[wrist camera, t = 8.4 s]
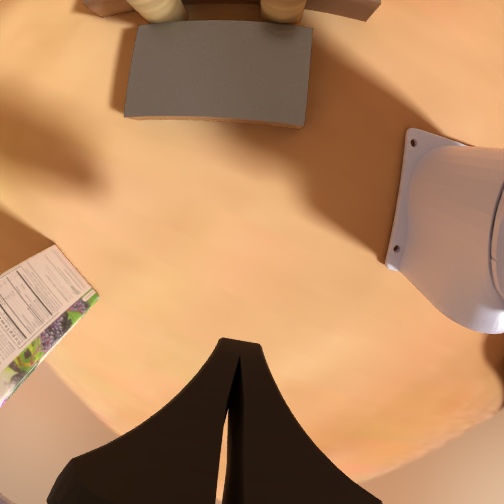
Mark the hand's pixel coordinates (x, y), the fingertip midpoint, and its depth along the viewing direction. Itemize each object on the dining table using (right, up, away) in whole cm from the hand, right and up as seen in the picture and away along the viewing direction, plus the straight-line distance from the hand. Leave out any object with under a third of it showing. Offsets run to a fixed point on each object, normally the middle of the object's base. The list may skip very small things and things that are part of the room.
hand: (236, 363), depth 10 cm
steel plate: (-1, +14, +6) cm, 16 cm away
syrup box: (-15, +1, +11) cm, 19 cm away
